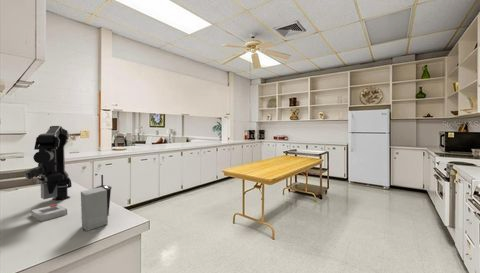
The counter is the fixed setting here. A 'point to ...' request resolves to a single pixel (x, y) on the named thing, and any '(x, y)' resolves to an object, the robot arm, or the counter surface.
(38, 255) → the counter surface
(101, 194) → the skincare box
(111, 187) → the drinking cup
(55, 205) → the socket
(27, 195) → the counter surface
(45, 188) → the plug
